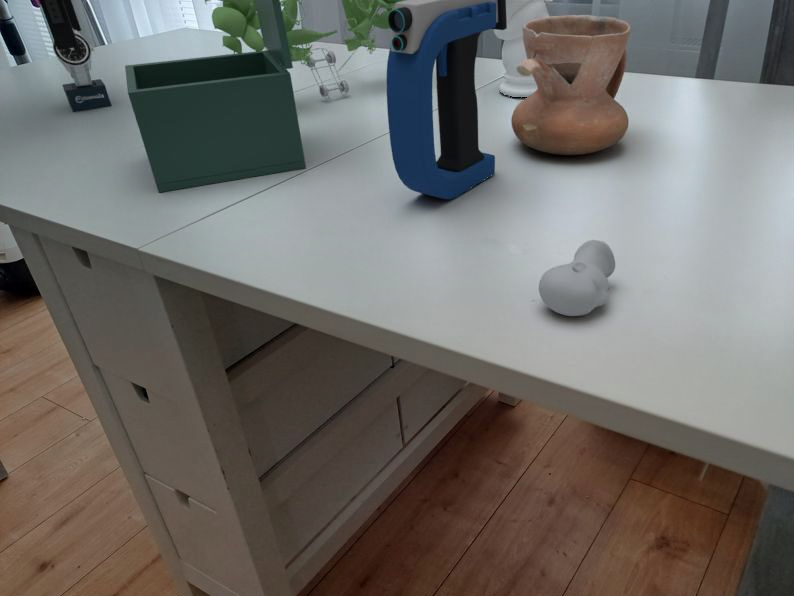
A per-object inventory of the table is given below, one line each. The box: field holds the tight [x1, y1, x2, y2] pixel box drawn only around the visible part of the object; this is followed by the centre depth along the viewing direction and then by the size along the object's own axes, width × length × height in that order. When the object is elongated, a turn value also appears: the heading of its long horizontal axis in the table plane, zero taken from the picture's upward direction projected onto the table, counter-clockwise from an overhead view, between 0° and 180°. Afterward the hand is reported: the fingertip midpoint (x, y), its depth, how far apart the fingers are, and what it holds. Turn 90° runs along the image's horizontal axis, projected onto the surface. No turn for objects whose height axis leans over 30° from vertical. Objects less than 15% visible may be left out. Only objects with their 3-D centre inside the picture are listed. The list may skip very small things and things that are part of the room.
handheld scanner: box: [386, 0, 507, 200], centre depth 68 cm, size 5×16×20 cm, turn 146°
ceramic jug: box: [510, 14, 631, 156], centre depth 81 cm, size 18×14×14 cm
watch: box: [52, 29, 112, 113], centre depth 100 cm, size 6×8×11 cm
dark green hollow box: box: [124, 49, 307, 193], centre depth 79 cm, size 17×13×11 cm
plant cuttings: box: [204, 0, 406, 101], centre depth 103 cm, size 35×17×22 cm
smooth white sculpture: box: [538, 239, 616, 317], centre depth 53 cm, size 4×8×5 cm
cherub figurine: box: [493, 0, 554, 98], centre depth 98 cm, size 12×12×22 cm
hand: (70, 39), depth 98 cm, fingers open, 13 cm apart
